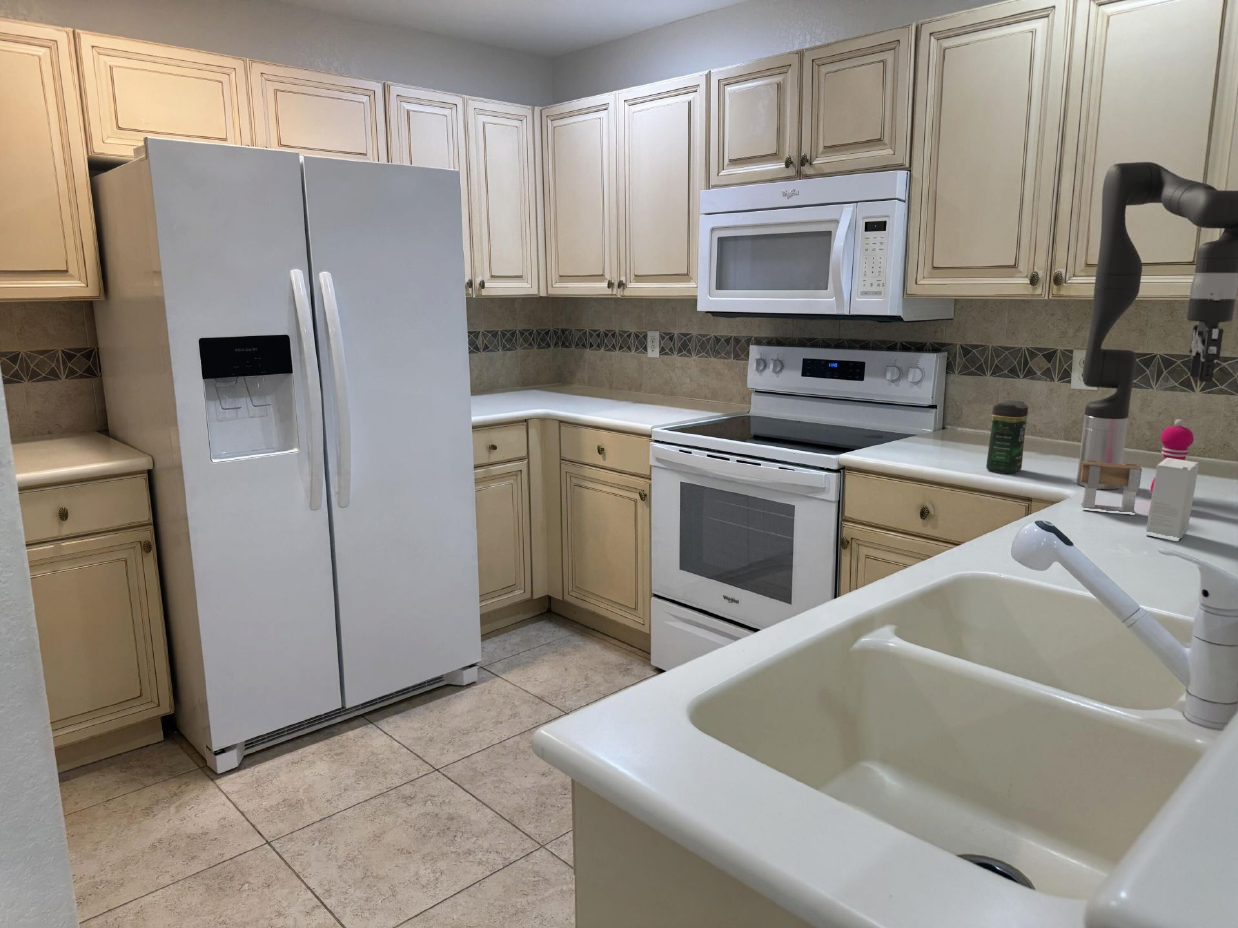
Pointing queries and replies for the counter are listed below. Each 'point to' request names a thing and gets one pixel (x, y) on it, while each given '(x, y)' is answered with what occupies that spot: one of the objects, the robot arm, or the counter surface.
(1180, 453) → the pepper mill
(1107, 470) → the rail
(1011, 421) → the coffee jar
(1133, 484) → the bracket
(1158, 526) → the skincare box
